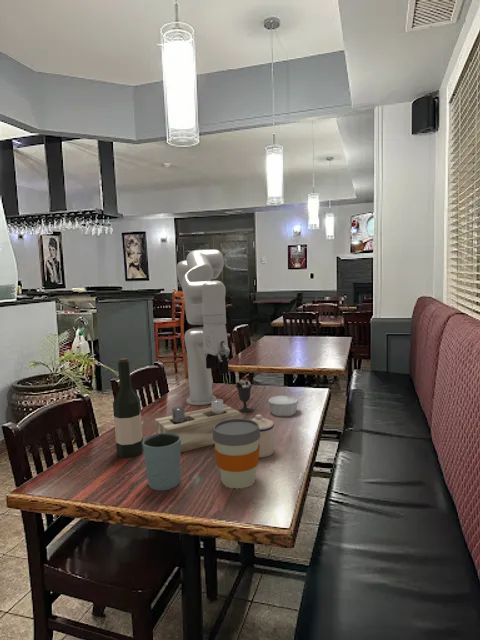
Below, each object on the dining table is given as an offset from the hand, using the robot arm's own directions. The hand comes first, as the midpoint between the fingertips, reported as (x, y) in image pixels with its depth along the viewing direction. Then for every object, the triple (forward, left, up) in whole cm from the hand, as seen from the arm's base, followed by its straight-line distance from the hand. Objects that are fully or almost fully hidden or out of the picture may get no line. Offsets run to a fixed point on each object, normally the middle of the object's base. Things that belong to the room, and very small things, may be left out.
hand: (217, 370), depth 149 cm
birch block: (0, -7, -22) cm, 24 cm away
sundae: (-17, +20, -23) cm, 35 cm away
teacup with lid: (+19, +3, -23) cm, 29 cm away
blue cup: (+21, -27, -23) cm, 42 cm away
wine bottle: (-3, -30, -23) cm, 38 cm away
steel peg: (0, 0, -18) cm, 18 cm away
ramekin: (-6, +30, -23) cm, 38 cm away
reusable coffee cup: (+32, -10, -23) cm, 40 cm away
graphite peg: (0, -14, -18) cm, 23 cm away
